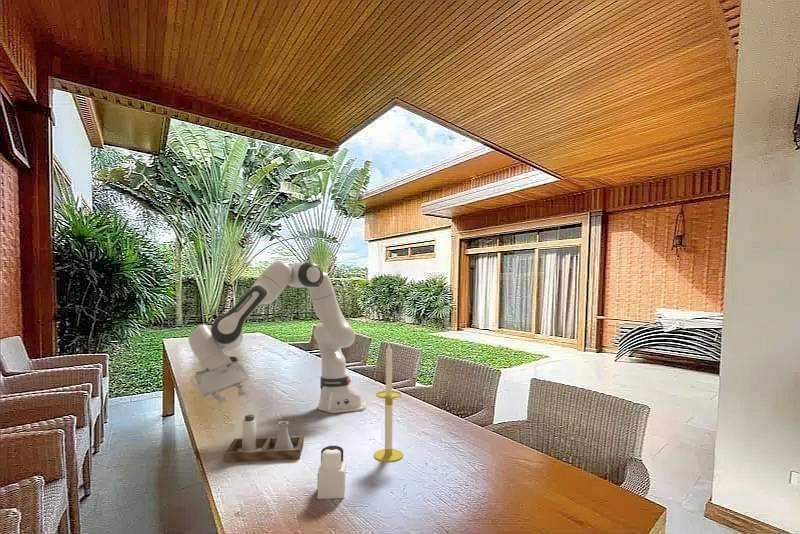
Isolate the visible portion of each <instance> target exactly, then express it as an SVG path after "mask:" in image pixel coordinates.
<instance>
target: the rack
mask: <svg viewBox="0 0 800 534" xmlns="http://www.w3.org/2000/svg"><path fill="white" fill-rule="evenodd" d="M277 437H278V436H267V437H266V436H265V437H256V450H253V451H242V438H239V437H238V438H234V439H233V440H232V442H231V443H230V444H229V446H228V448H227V449H226V450H225V452H224V453H223V454H224V455H223V458H224V459H223V463H225V464H227V463H229V464H231V463H247V462H248V463H249V462H251V463H252V462H265V461H266V462H267V461H269V462H271V461H284V460H285V461H286V460H288V461H289V460H300V459H301V456H302V451H303V447H304V445H305V443H304V440H305V438H304V437H305V436H304V435H289V437H290V440H291V442H292V445H293V447H296V448H294V449H274V446H275V443H276V440H277ZM271 448H273V449H274V450H273V449H271Z"/></svg>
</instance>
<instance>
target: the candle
mask: <svg viewBox="0 0 800 534" xmlns="http://www.w3.org/2000/svg"><path fill="white" fill-rule="evenodd" d="M401 396H402V393H401V392H399V391H396V390H393V350H392V348H391V344H388V346H387V348H386V350H385V390H382V391H378V392H376V397H377V398H380V399H384V448H383V449H379V450H376V451H375V452H374V454H373V458H374V460H377V461H380V462H383V463H384V462H385V463H393V462H397V461H400V460H401V459H404V458H403V457H404V453H403V451H401V450H399V449H395V448H393V406H394V405H393V399H398V398H401Z"/></svg>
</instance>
